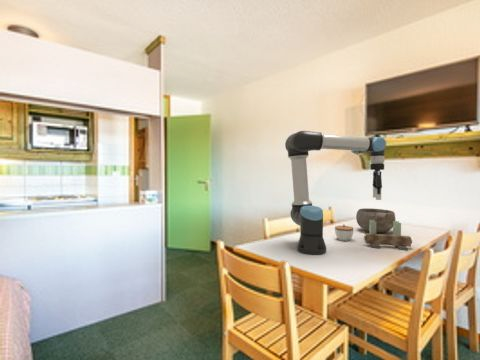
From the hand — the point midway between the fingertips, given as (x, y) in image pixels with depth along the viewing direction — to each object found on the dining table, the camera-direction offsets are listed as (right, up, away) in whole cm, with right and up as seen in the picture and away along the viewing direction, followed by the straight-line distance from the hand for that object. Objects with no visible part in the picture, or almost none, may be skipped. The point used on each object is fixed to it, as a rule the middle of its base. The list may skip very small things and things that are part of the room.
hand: (376, 198), depth 160 cm
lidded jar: (-18, -26, +5) cm, 32 cm away
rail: (0, -25, -12) cm, 27 cm away
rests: (0, -26, -12) cm, 29 cm away
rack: (+5, -26, 0) cm, 26 cm away
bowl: (+12, -25, +25) cm, 38 cm away
